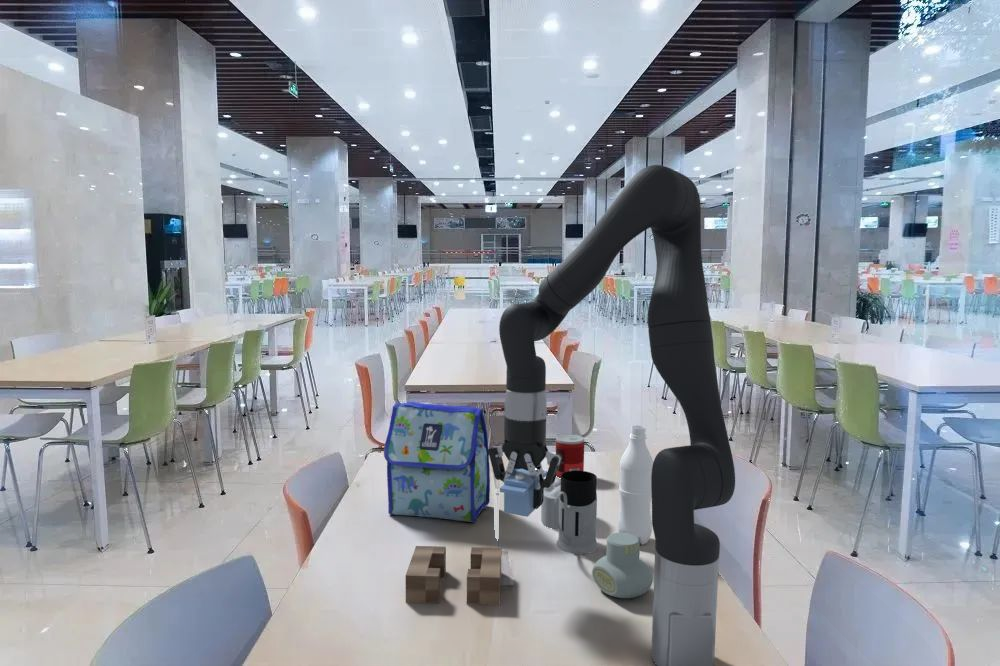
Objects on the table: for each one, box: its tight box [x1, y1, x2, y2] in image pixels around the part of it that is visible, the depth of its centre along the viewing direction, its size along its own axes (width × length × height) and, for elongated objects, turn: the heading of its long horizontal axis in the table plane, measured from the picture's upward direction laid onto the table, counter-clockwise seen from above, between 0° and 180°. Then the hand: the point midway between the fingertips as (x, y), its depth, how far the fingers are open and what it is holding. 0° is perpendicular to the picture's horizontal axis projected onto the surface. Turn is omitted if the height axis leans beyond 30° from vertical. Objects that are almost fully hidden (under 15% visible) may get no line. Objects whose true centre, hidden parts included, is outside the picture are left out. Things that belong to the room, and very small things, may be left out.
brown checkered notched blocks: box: [405, 545, 503, 606], centre depth 124 cm, size 12×16×5 cm
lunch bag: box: [383, 401, 491, 523], centre depth 159 cm, size 22×17×26 cm
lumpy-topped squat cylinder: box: [540, 477, 561, 530], centre depth 156 cm, size 10×13×9 cm
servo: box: [499, 469, 548, 517], centre depth 123 cm, size 4×12×7 cm, turn 156°
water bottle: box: [617, 424, 654, 545], centre depth 143 cm, size 7×7×25 cm
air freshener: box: [591, 532, 654, 599], centre depth 123 cm, size 11×8×10 cm
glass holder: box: [554, 470, 599, 555], centre depth 139 cm, size 9×14×15 cm, turn 146°
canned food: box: [555, 434, 585, 478], centre depth 185 cm, size 8×8×11 cm
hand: (523, 504), depth 123 cm, fingers closed on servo, 4 cm apart
